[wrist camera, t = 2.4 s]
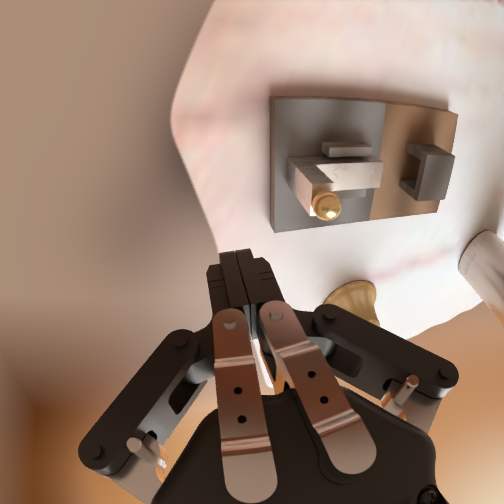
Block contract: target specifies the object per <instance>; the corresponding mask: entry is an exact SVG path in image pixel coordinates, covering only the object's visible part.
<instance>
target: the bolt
mask: <svg viewBox="0 0 504 504" xmlns="http://www.w3.org/2000/svg"><path fill="white" fill-rule="evenodd" d="M383 165H384V162H383V161H381V160H380V159H378V158H377V157H375V156H374V155H371V156H350V157H328V156H310V157H294V158H288V174H287V185H288V187H289V188H290V189H291V191H292V192H293V193H294V195H295V196H296V197H297V199H298V200H299V202H300V203H301V204H302V206H303V207H304V209H305V210H306V211H307V213H308V214H309V216H317V217H318V218H320V219H322V220H326V221H328V220H333V219H335V218H336V217H337V216H338V215H339V214H340V212H341V209H342V203H341V199H340V198H339V196H338V195H337V194H336V193H334V192H333V191H340V190H352V189H366V188H380V183H381V177H382V171H383Z"/></svg>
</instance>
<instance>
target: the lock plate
mask: <svg viewBox="0 0 504 504" xmlns="http://www.w3.org/2000/svg"><path fill="white" fill-rule="evenodd" d="M457 118H458V114H455V113H453V112H451V111H447V110H442V109H437V108H431V107H425V106H419V105H412V104H405V103H397V102H388V101H379V100H368V99H354V98H337V97H270V225H271V227H272V229H273V231H274V233H278V232H285V231H293V230H300V229H308V228H315V227H323V226H330V225H338V224H346V223H354V222H362V221H369V220H378V219H386V218H394V217H402V216H410V215H419V214H427V213H436V212H437V210H438V206H439V202H440V200H443V199H445V196H446V192H447V189H448V185H449V181H450V177H451V173H452V168H453V164H454V159H455V156H454V155H452V154H451V152H452V147H453V142H454V137H455V131H456V125H457ZM371 155H374V156H375V157H377V158H378V159H380V160H381V161H383V162H384V165H383V171H382V177H381V183H380V188H366V189H352V190H340V191H333V192H334V193H336V194H337V195H338V196H339V198H340V199H341V203H342V209H341V212H340V214H339V215H338V216H337V217H336V218H335V219H333V220H328V221H326V220H322V219H320V218H318V217H317V216H309V214H308V213H307V211H306V210H305V209H304V207H303V206H302V204H301V203H300V202H299V200H298V199H297V197H296V196H295V195H294V193H293V192H292V191H291V189H290V188H289V187H288V185H287V174H288V158H294V157H310V156H328V157H350V156H371Z"/></svg>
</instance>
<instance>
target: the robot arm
mask: <svg viewBox="0 0 504 504" xmlns="http://www.w3.org/2000/svg"><path fill="white" fill-rule="evenodd" d="M219 261H220V264H216V265H210V266H209V268H208V270H207V273H206V275H207V281H208V288H209V294H210V300H211V307H212V313H213V316H212V320H211V322H210V323H209V324H208V325H207V326H206V327H205V328H203V329H201V330H200V331H197V332H195V333H193V332H192V331H189V330H186V329H179V330H176V331H173V332H171V333H170V334H168V336H166V338H165V339H164V340H163V341H162V343H161V344H160V345H159V346H158V347H157V349H156V350H155V351H154V352H153V353H152V355H151V356H150V357H149V358H148V360H147V361H146V362H145V363H144V364H143V366H142V367H141V368H140V369H139V371H138V372H137V373H136V374H135V375H134V377H133V378H132V379H131V380H130V381H129V383H128V384H127V385H126V386H125V388H124V389H123V390H122V391H121V393H120V394H119V395H118V396H117V397H116V399H115V400H114V401H113V402H112V404H111V405H110V406H109V407H108V409H107V410H106V411H105V412H104V413H103V415H102V416H101V417H100V419H99V420H98V421H97V422H96V423H95V425H94V426H93V427H92V428H91V430H90V431H89V432H88V433H87V435H86V436H85V437H84V438H83V440H82V441H81V443H80V445H79V448H78V454H79V458H80V460H81V462H82V463H83V464H84V465H85V466H86V467H88V468H90V469H92V470H93V471H95V472H96V473H98V474H99V475H102V476H104V477H106V478H108V479H110V480H112V481H114V482H115V483H116V484H118V485H119V486H120V487H122V488H123V489H125V490H126V491H127V492H129V493H130V494H132V495H133V496H135V497H136V498H137V499H139V500H140V501H142V502H143V503H145V504H449V503H448V502H447V501H446V499H445V498H444V497H443V496H442V494H441V493H440V492H439V490H438V488H437V485H436V480H435V459H436V452H435V447H434V444H433V442H432V440H431V438H430V437H429V436H428V434H427V433H428V431H429V429H430V426H431V424H432V422H433V420H434V417H435V415H436V412H437V410H438V407H439V404H440V402H441V400H442V398H443V397H445V395H446V394H447V393H448V392H449V391H450V390H451V389H452V388H453V387H454V386H455V385H456V384H457V382H458V378H459V374H458V370H457V368H456V367H455V366H454V364H453V363H451V362H450V361H448V360H446V359H444V358H442V357H439V356H438V355H435V354H433V353H431V352H429V351H427V350H425V349H423V348H421V347H419V346H417V345H415V344H413V343H411V342H409V341H407V340H405V339H403V338H401V337H399V336H397V335H395V334H393V333H391V332H389V331H387V330H385V329H383V328H381V327H379V326H377V325H375V324H373V323H371V322H369V321H367V320H365V319H363V318H361V317H359V316H357V315H355V314H353V313H351V312H349V311H347V310H345V309H343V308H341V307H339V306H336V305H334V304H322V305H320V306H318V307H317V308H316V309H315V310H314V312H307V311H298V310H295V309H293V308H291V306H290V305H289V304H287V303H286V302H285V300H284V298H283V296H282V293H281V291H280V288H279V286H278V283H277V281H276V279H275V276H274V273H273V271H272V269H271V266H270V264H269V263H268V262H267V261H266V260H265V259H264V258H263V257H260V258H253V255H252V252H251V250H250V248H249V249H243V250H236V251H235V253H234V251H230V252H223V253H219ZM459 272H460V273H461V275H462V276H463V277H464V278H465V279H466V280H467V281H468V283H469V284H470V285H471V286H472V287H473V289H474V290H475V291H476V292H477V293H478V295H479V296H480V297H481V298H482V299H483V301H484V302H485V303H486V304H487V305H488V307H489V308H490V309H491V310H492V312H493V313H494V314H495V316H496V317H497V318H498V319H499V321H500V322H501V323H502V325H503V326H504V241H502V240H501V239H500V238H499V237H498V236H497V235H495V234H494V233H493V232H492V231H490V230H487V231H484V232H482V233H480V234H479V235H477V236H476V237H475V238H474V239H473V240H472V242H471V243H470V244H469V245H468V247H467V248H466V250H465V251H464V253H463V255H462V257H461V260H460V263H459ZM251 336H252V339H257V338H258V340H259V344H260V353H261V356H262V359H263V361H264V364H265V366H266V369H267V372H268V374H269V377H270V379H271V382H272V384H273V387H274V391H275V395H261V392H260V387H259V381H258V375H257V370H256V364H255V359H254V358H253V353H252V348H251V342H250V340H251ZM334 375H335V376H336V377H338V378H340V379H342V380H344V381H345V382H347V383H349V384H351V385H353V386H355V387H356V388H358V389H360V390H362V391H364V392H366V393H368V394H369V395H371V396H373V397H375V398H377V399H379V400H381V404H382V407H383V408H381V407H379V406H377V405H376V404H374V403H372V402H370V401H369V400H367V399H365V398H364V397H362V396H360V395H358V394H357V393H355V392H353V391H352V390H350V389H348V388H345V387H342V386H340V385H339V383H338V381H337V379H336V378H335V376H334ZM213 376H215V381H216V393H217V403H218V404H217V405H218V408H217V409H215V410H213V411H212V412H211V413H209V414H208V415H207V416H206V417H205V418H204V419H203V420H202V422H201V423H200V424H199V426H198V427H197V429H196V431H195V432H194V434H193V435H192V437H191V439H190V440H189V442H188V444H187V446H186V447H185V448H184V450H183V452H182V453H181V455H180V456H179V458H178V460H177V461H176V463H175V464H174V466H173V468H172V469H171V471H170V472H169V474H168V476H167V477H166V478H164V470H165V467H166V465H167V463H168V454H167V452H166V450H165V448H164V447H163V445H164V444H165V442H166V441H167V439H168V438H169V437H170V435H171V434H172V432H173V431H174V429H175V428H176V427H177V425H178V424H179V422H180V421H181V419H182V418H183V416H184V415H185V414H186V412H187V411H188V409H189V408H190V406H191V405H192V403H193V402H194V401H195V399H196V398H197V396H198V395H199V393H200V392H201V390H202V389H203V387H204V385H205V384H206V383H207V380H208V379H209V378H211V377H213Z"/></svg>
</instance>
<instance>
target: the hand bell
mask: <svg viewBox="0 0 504 504" xmlns="http://www.w3.org/2000/svg"><path fill="white" fill-rule="evenodd" d="M375 300H376V289H375V287H374V285H373V284H371V283H370V282H367V281H354V282H350V283H348V284H345V285H343V286H341V287H340V288H338V289H336V290H335V291H334V292H332V293H331V294H330V295H329V296H328V297H327V299H326V300H325V302H324V303H323V304H334V305H336V306H339V307H341V308H343V309H345V310H347V311H349V312H351V313H353V314H355V315H357V316H359V317H361V318H363V319H365V320H367V321H369V322H371V323H373V324H375V325H377V326H379V327H380V323H379V321H378V319H377V316H376V313H375V309H374V303H375Z"/></svg>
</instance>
